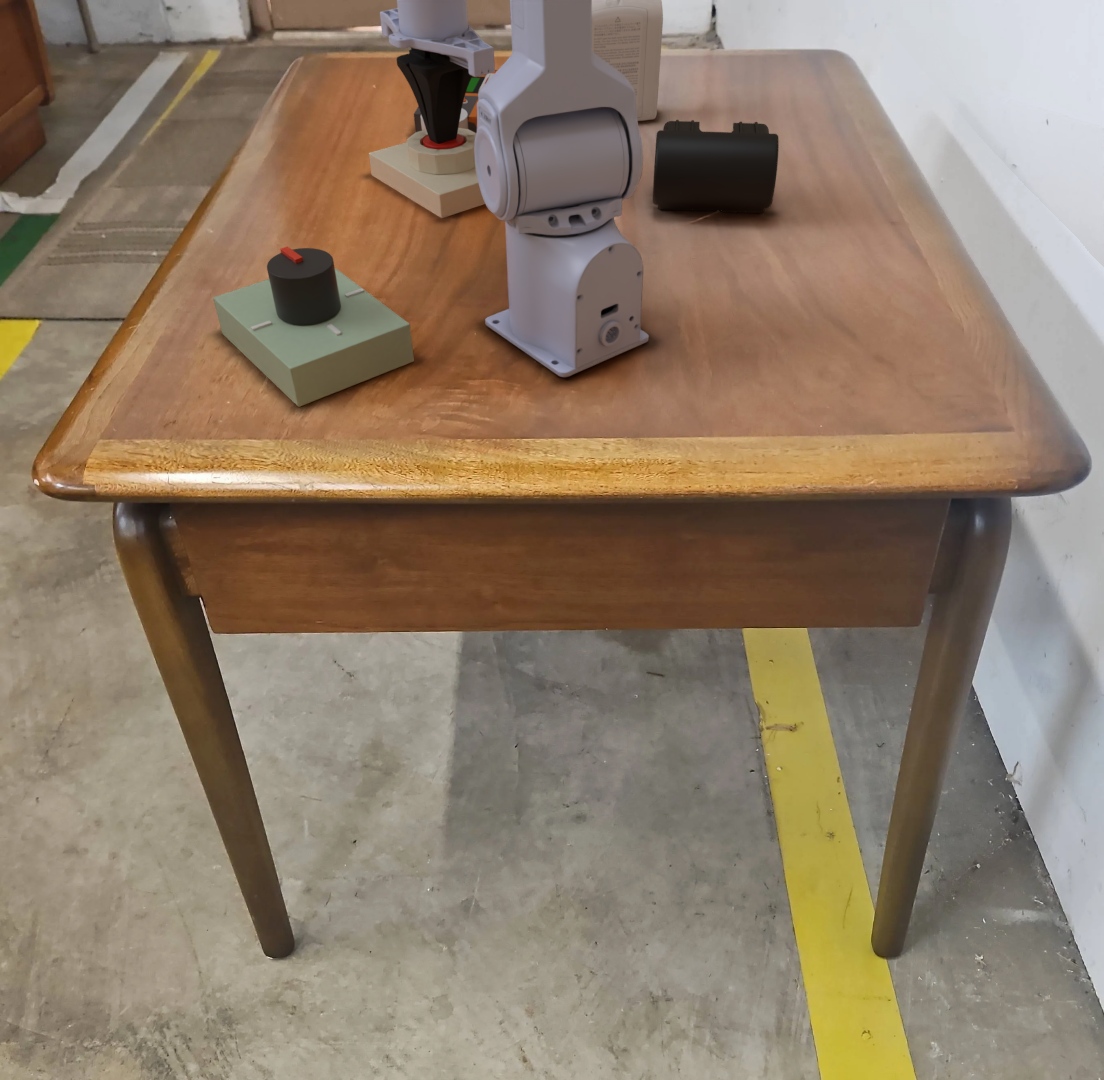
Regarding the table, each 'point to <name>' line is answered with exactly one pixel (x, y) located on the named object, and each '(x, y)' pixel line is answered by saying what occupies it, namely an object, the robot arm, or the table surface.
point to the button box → (431, 173)
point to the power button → (446, 145)
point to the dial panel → (316, 340)
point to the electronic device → (468, 108)
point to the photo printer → (631, 45)
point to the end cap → (715, 168)
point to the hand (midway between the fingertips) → (443, 139)
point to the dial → (304, 286)
